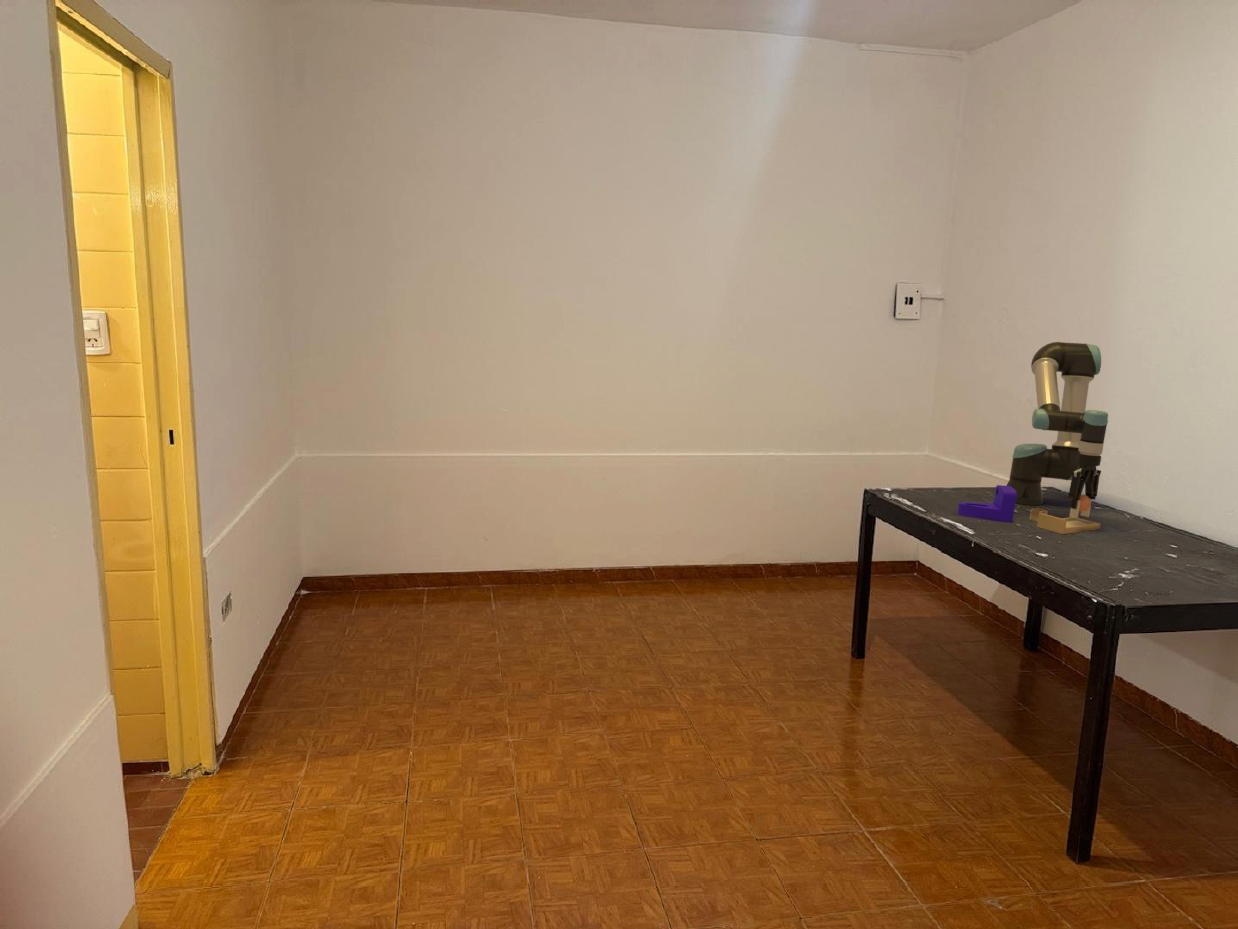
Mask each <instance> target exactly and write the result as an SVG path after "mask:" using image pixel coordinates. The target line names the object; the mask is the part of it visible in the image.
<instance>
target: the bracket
mask: <svg viewBox="0 0 1238 929" xmlns="http://www.w3.org/2000/svg"><path fill="white" fill-rule="evenodd" d="M1016 496H1017V493H1016V490H1015V489H1014V488H1012V487H1011V486H1007V485H1001V484H997V485H996V486H995V492H994V498H993V502H989V503H988V502H962V501H960V502H959V503H958V507H957V515H958V516H963V517H969V518H975V519H976V518H977V519H981V520H988V521H995V522H1001V523H1002V522H1004V523H1010V524H1011V523H1013V521H1014V515H1015V509H1016V508H1015V507H1016V504H1017V503H1016Z"/></svg>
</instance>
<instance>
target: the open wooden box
mask: <svg viewBox="0 0 1238 929" xmlns="http://www.w3.org/2000/svg"><path fill="white" fill-rule="evenodd" d="M1039 513H1043V514H1047V515H1048V514H1049V513H1048V510H1045V509H1042V508H1039V507H1038V508H1037V507H1036V508H1031V509H1030V513H1029V520H1030V521H1033V522H1037V523H1038V517H1039Z"/></svg>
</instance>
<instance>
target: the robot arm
mask: <svg viewBox="0 0 1238 929" xmlns="http://www.w3.org/2000/svg"><path fill="white" fill-rule="evenodd" d="M1030 366H1031V372H1032V374H1033V375H1034V379H1035V380H1034V381H1035V390H1036V391H1035V392H1036V399H1037V400H1036V401H1037V408H1035V409H1034V410H1033V412H1032V417H1031V427H1032V428H1033V429H1036V430H1042V431H1049V432H1050V431H1051V432H1052V431H1053V432H1057V436H1056V441H1055V442H1053V444H1051V448H1048V446H1047V445H1046V444H1042V443H1021V444H1018V445H1016V446H1015V447H1014V450H1013V454H1012V461H1011V466H1010V467H1011V468H1010V474H1009V480H1008V482H1007V484H1006V486H1011V487H1012V488H1014V489H1015V490H1016V493H1017V496H1016V503H1015V504H1021V505H1030V506H1038V505H1039V506H1040V505H1042V504H1044V503H1043V502H1044V496H1043V490H1042V478H1045V479H1046V478H1047V479H1055V480H1063V481H1064V480H1065V481H1071V482H1070V485H1069V486H1070V487H1069V491H1068V496H1067V497H1068V499H1071V503H1070V510H1069V517H1073V518H1079V513H1080V516H1082V517H1086V518H1089V517H1090V512H1091V508H1092V505H1091V506H1090V508H1089V509H1087V510H1085V511H1079V508H1080V502H1081V500H1079V499H1080V496H1081V495H1082V494H1083V490H1084V495H1086V496H1088V497H1089V498H1090V500H1091V503H1092V500H1096V497H1097V496H1098V490H1099V482H1100V476H1101V473H1102V470H1100V469H1097V467H1099V466H1101V462H1102V454H1103V449H1104V443H1105V438H1106V432H1107V426H1108V422H1109V419H1108V418H1109V413H1108V412H1107V411H1103V410H1098V409H1097V410H1095V409H1087V399H1088V394H1089V386H1090V383H1091V381H1093V380H1094V379H1095V376H1097V375H1099V374H1100V372H1101V368H1102V354H1101V349H1100V348H1099V346H1098V345H1095V344H1090V343H1081V342H1080V343H1078V342H1063V341H1062V342H1061V341H1055V342H1054V341H1053V342H1050V343H1047V344H1045V345H1043V346H1042V347H1040V348H1039V349H1038V350H1037V352H1036V353H1035V354H1034V355H1033V357H1032V359H1031V365H1030ZM1058 373H1060V374H1061V375H1060V378H1061V379H1063V381H1064V385H1063V391H1062V392H1063V393H1062V399H1061V402H1060V395H1059V394H1060V393H1059V385H1058V375H1057V374H1058ZM1086 409H1087V410H1086Z"/></svg>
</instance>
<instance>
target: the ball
mask: <svg viewBox="0 0 1238 929" xmlns="http://www.w3.org/2000/svg"><path fill="white" fill-rule="evenodd" d="M1079 500H1081V502H1080V508H1079V512H1081V511H1085V510H1087V509H1089V508H1090V509H1091V507H1092V502H1091V500H1090V498H1089V497H1088V496H1086V495H1085V494H1081V496H1080V499H1079ZM1090 506H1091V507H1090Z"/></svg>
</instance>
